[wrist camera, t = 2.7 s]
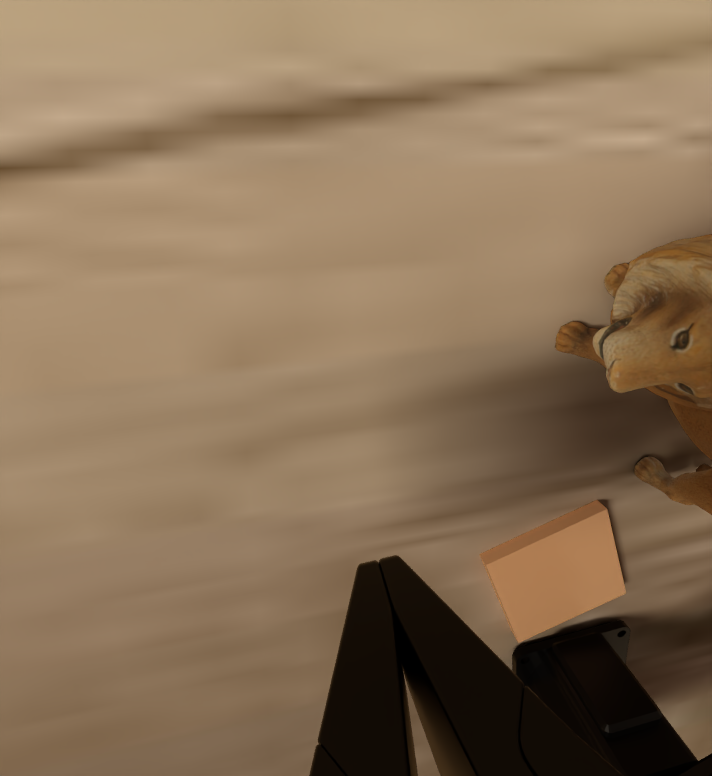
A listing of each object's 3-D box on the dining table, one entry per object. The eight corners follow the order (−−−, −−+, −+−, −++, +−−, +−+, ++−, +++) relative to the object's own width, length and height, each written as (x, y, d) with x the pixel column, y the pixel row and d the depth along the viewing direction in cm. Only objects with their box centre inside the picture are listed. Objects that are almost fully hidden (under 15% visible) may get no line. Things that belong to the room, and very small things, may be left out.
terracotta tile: (609, 574, 23) (626, 593, 21) (506, 622, 23) (518, 642, 21) (589, 493, 20) (607, 508, 19) (474, 546, 20) (485, 565, 19)
